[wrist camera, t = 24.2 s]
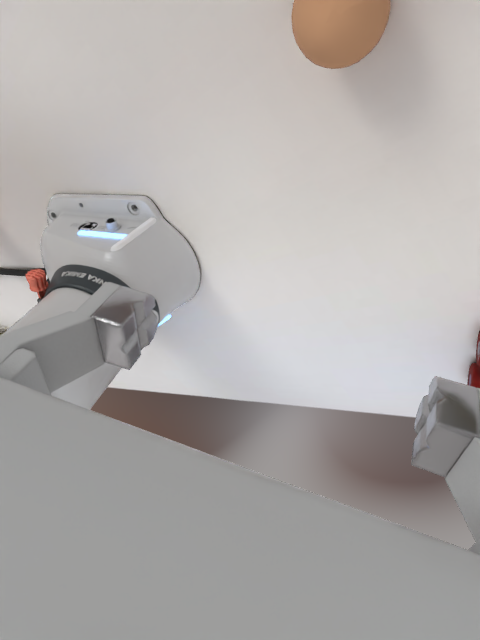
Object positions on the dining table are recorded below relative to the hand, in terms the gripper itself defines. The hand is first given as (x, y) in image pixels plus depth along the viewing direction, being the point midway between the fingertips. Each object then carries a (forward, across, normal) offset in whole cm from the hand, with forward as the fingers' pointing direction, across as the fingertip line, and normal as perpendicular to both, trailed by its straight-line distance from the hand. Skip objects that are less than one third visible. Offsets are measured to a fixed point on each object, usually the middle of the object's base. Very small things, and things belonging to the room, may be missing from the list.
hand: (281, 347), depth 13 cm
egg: (+33, +5, -4) cm, 34 cm away
